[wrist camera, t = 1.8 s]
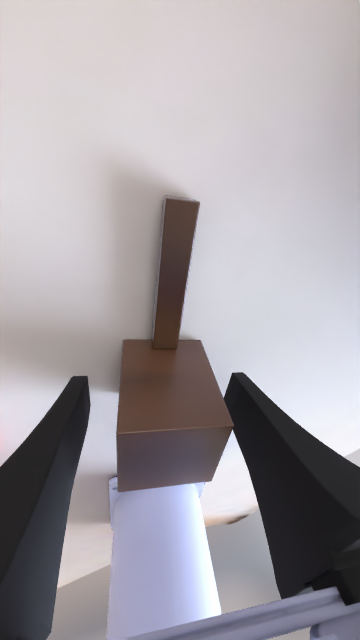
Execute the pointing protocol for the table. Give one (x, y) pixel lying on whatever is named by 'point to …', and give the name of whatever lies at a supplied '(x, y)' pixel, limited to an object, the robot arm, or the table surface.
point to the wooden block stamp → (169, 380)
